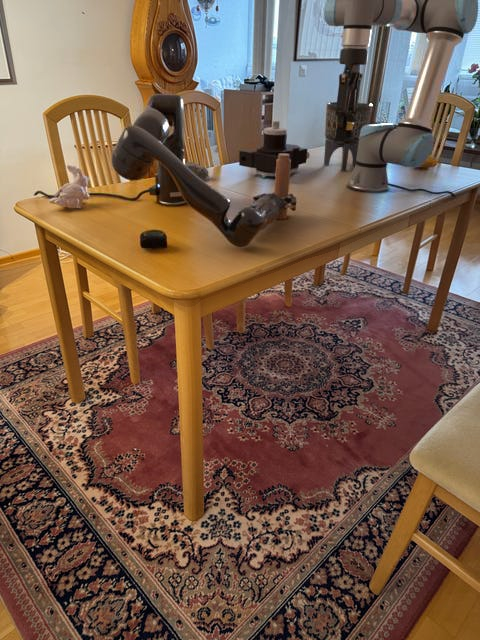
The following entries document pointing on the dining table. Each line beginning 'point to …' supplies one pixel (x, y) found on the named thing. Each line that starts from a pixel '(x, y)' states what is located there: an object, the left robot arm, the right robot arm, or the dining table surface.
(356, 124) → the planter
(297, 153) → the mechanical component
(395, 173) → the dining table surface
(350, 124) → the lid
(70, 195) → the figurine
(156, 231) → the tape measure
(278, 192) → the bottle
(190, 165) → the rock
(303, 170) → the dining table surface
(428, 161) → the toy
